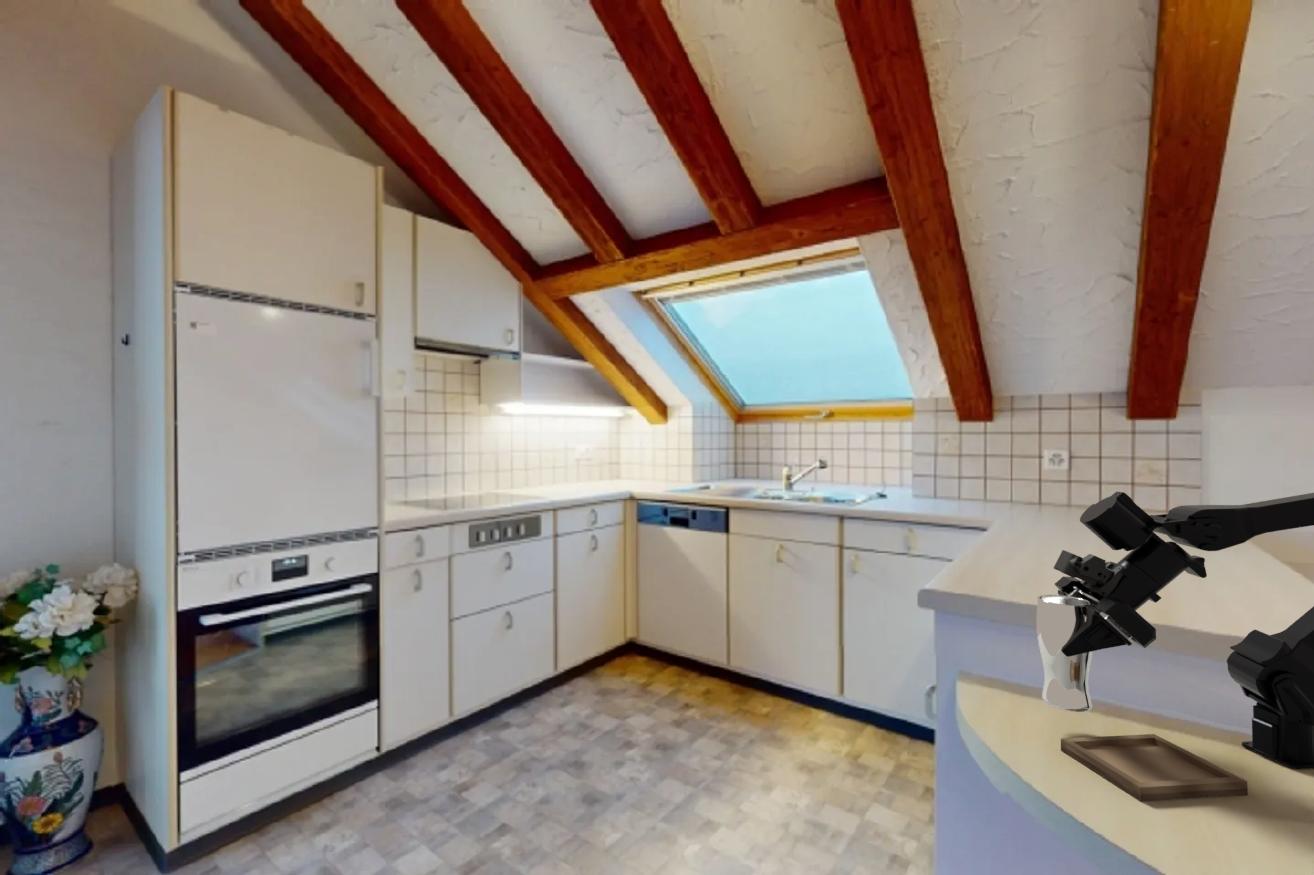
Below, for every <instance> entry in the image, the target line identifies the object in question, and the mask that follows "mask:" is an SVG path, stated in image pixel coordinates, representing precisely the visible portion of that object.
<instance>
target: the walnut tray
mask: <svg viewBox="0 0 1314 875" xmlns="http://www.w3.org/2000/svg"><path fill="white" fill-rule="evenodd" d="M1060 751H1061V752H1063V753H1064V754H1066V755H1068V756H1069V757H1071V758H1072V759H1074V760H1075V761H1077V762H1078V763H1079V764H1081V765H1082V766H1084V767H1086V768H1088V769H1090V771H1092V772H1094V773H1096V774H1097V775H1098V776H1100V777H1101V778H1103V779H1105V780H1107V781H1108V782H1110V784H1111V783H1112V785H1114V786H1115V787H1117V788H1118V789H1120V790H1122V791H1123V792H1125V793H1126V794H1128V795H1129V796H1131V797H1133V798H1134V799H1136V800H1138V801H1139V802H1151V801H1152V802H1153V801H1166V800H1167V801H1170V800H1171V801H1173V800H1183V799H1184V800H1186V799H1200V798H1203V799H1204V798H1219V797H1233V796H1234V797H1235V796H1248V795H1249V791H1248V783H1249V782H1248V780H1245V779H1244V778H1242V777H1240V776H1238V775H1236V774H1234V773H1233V772H1230V771H1228V770H1227V769H1225V768H1222V767H1220V766H1218V765H1216V764H1215V763H1212V762H1210V761H1209V760H1206V759H1204V757H1203V758H1202V757H1200V756H1198V755H1196V754H1194V753H1192V752H1190V751H1189V750H1187V749H1185V748H1183V747H1181V746H1178V745H1177V744H1175V743H1173V742H1171V741H1169V740H1168V739H1165V738H1162V737H1161V736H1159V735H1157V734H1155V733H1149V734H1148V733H1147V734H1127V735H1126V734H1125V735H1108V736H1106V735H1104V736H1089V737H1088V736H1086V737H1085V736H1084V737H1083V736H1082V737H1067V738H1066V737H1064V738H1060Z"/></svg>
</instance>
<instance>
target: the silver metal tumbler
mask: <svg viewBox="0 0 1314 875" xmlns="http://www.w3.org/2000/svg"><path fill="white" fill-rule="evenodd" d="M1036 605H1037V606H1036V620H1035V621H1036V622H1035V624H1036V626H1035V627H1036V636H1037V644H1038V648H1039V651H1040V657H1041V661H1042V666H1043V673H1044V681H1043V687H1042V694H1041V700H1042V701H1043V702H1044V703H1045V704H1046V705H1049V706H1051V707H1053V708H1056V709H1059V710H1064V711H1069V712H1075V713H1082V712H1083V713H1084V712H1085V713H1086V712H1089V711H1091V710H1092V709H1093V703H1092V698H1091V694H1090V689H1089V688H1090V687H1089V675H1090V668H1091V663H1092V658H1093V652H1094V651H1091V652H1087V653H1083V654H1078V655H1074V656H1069V657H1067V656H1066V655H1065V654H1064V653H1062V651H1061V649H1062V648H1063V647H1064V646H1065V644H1066V643H1067V642H1068V641H1069V640H1070V639H1071V638H1072V637H1073V635H1074V634H1075V633H1076V632H1077V631H1078V630H1079V629H1080V628H1081V627H1082V626H1083V624H1084V623H1085V622H1086V608H1087V606H1088V607H1090V608H1091V602H1090V601H1088V600H1085V599H1081V598H1077V597H1071V596H1063V595H1059V594H1043V595H1042V594H1041V595H1039V596H1037V604H1036Z"/></svg>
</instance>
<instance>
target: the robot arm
mask: <svg viewBox="0 0 1314 875" xmlns="http://www.w3.org/2000/svg"><path fill="white" fill-rule="evenodd" d="M1079 522H1080V523H1081V524H1083V525H1084V526H1085V527H1086V528H1087V529H1088V530H1090V532H1092V533H1093V534H1094V535H1096V537H1097V538H1099V539H1100V540H1101V541H1102V542H1103V543H1105V545H1106V546H1108V547H1109V548H1110V549H1111V550H1112V551H1120V550H1124V551H1125V552H1129V553H1127V554H1126V555H1125V556H1123V558H1122V559H1120V560H1119V561H1118V562H1117V563H1116V562H1114V561H1106V559H1103V558H1101V557H1099V556H1096V555H1094V554H1091V553H1089V554H1087V555H1085V556H1084V557H1082V556H1080V555H1077V554H1074V553H1072V552H1070V551H1067V550H1064V549H1062V550H1061V552H1060V555H1059V557H1058V558H1057V560H1056V562H1055V564H1054V566H1053V570H1056V571H1059V572H1060V573H1062V574H1064V575H1066V576H1064V575H1063V576H1062V577H1061V578H1059V580H1057V581H1056V582H1055V583H1054V586H1055V587H1056V588H1058V590H1057V595H1063V596H1071V597H1077V598H1081V599H1085V600H1088V601H1090V602H1091V608H1090V607H1088V606H1087V608H1086V622H1085V623H1084V624H1083V626H1082V627H1081V628H1080V629H1079V630H1078V631H1077V632H1076V633H1075V634H1074V635H1073V637H1072V638H1071V639H1070V640H1069V641H1068V642H1067V643H1066V644H1065V646H1064V647H1063V648H1062V649H1061V651H1062V653H1064V654H1065V655H1066V656H1067V657H1069V656H1074V655H1078V654H1083V653H1087V652H1091V651H1093V652H1096V651H1099V650H1104V649H1106V650H1107V649H1111V648H1114V647H1115V648H1117V647H1120V646H1121V647H1122V646H1132V645H1133V643H1132V642H1131V641H1130V640H1132V641H1133V642H1134V643H1135V644H1137V645H1139V646H1140V647H1142V648H1144V649H1146V648H1147V647H1148V646H1150V645H1151V644H1152V643H1153V642H1154V641H1155V640H1157V629H1156V627H1154V625H1152V624H1151V623H1150V622H1149V621H1148V620H1147V619H1145V618H1144V617H1143V616H1142V615H1141V614H1140V613H1138V611H1137V610H1138V609H1140V608H1141V607H1142V606H1143V605H1145V604H1146V603H1147V602H1148V601H1150V602H1153V603H1155V604H1157V603H1158V602H1159V601H1160V600H1161V599H1162V597H1161V596H1160V595H1159V594H1158V593H1159V592H1160V591H1162V590H1163V589H1164V588H1165V587H1167V586H1168V585H1169V584H1170V583H1171V582H1173V581H1174V580H1175V579H1176V578H1177V577H1179V576H1180V575H1182V573H1183V572H1186V573H1187V574H1190V575H1192V576H1196V577H1199V578H1202V579H1205V578H1207V569H1206V567H1205V562H1206V558H1204V557H1202V556H1199V555H1191V554H1190V553H1189V552H1187V551H1186V550H1185V549H1183V547H1181V545H1182V546H1186V547H1189V548H1192V549H1193V548H1194V549H1197V550H1201V551H1205V552H1219V551H1222V550H1225V549H1229V548H1231V547H1234V546H1239V545H1242V544H1244V543H1246V542H1248V541H1250V540H1251V539H1253V538H1255V537H1257V536H1260V535H1264V534H1267V533H1274V532H1278V531H1286V530H1287V531H1288V530H1293V529H1298V528H1304V527H1311V526H1314V492H1309V493H1304V494H1298V495H1292V496H1287V497H1282V498H1281V497H1280V498H1274V499H1269V500H1262V501H1256V502H1251V503H1245V504H1228V505H1227V504H1196V505H1195V504H1193V505H1192V504H1191V505H1190V504H1189V505H1179V506H1178V505H1177V506H1176V507H1173V508H1171V509H1169V510H1168V512H1167V513H1163V514H1150V515H1149V514H1148V513H1147V512H1146V511H1145V510H1143V509H1142V508H1141V507H1140V506H1139V505H1138V504H1136V503H1135V502H1134V500H1133V499H1132V498H1131V497H1130V495H1128V494H1127V493H1125V492H1123V491H1115V492H1114V493H1113V494H1112V495H1110V496H1107V497H1104V498H1103V499H1101V500H1099V501H1098V502H1096V503H1093V504H1090V506H1089V507H1087V508H1086V509H1085V510H1084V512H1083V513H1082V514H1081V516H1080V517H1079ZM1156 533H1158V534H1161V535H1166V536H1168V538H1169V539H1171V541H1165V540H1164V539H1163V538H1162V537H1160V536H1158V534H1156ZM1129 639H1130V640H1129ZM1229 648H1230V650H1232V652H1231V653H1230V654H1229V655H1228V657H1227V659H1226V664H1227V671H1228V673H1229V675H1230V678H1231V679H1232V680H1233V681H1234V682H1235V683H1237V684H1238V685H1239V686H1240V688H1241V690H1242V692H1243V695H1244V696H1245V697H1247V698H1249V699H1252V700H1254V701H1255V702H1256V705H1252V716H1253V717H1252V718H1251V741H1250V740H1249V741H1247V740H1246V741H1241V746H1242V747H1245V748H1246V749H1248V750H1250V751H1253V752H1255V753H1257V754H1260V755H1262V756H1264V757H1266V758H1268V759H1270V760H1273V761H1275V762H1277V763H1279V764H1281V765H1284V766H1285V767H1287V768H1290V769H1294V770H1305V769H1309V770H1310V769H1314V606H1312V607H1311V608H1310V609H1309V610H1307V611H1306V612H1305V613H1304V614H1302V615H1301V616H1300V617H1299V618H1298V619H1296V620H1295V621H1294V622H1293V623H1292V624H1291V625H1289V626H1288V627H1287V628H1285V629H1284V630H1282V631H1279V632H1277V633H1274V634H1267V633H1265V632H1263V631H1260V630H1258V629H1253V630H1251V631H1250V632H1249V633H1247V634H1246V636H1245V637H1244V638H1243V640H1241V641H1240V642H1238V643H1237V644H1234V645H1232V646H1229Z"/></svg>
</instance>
